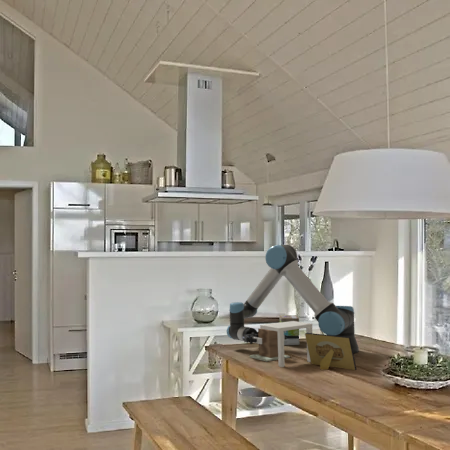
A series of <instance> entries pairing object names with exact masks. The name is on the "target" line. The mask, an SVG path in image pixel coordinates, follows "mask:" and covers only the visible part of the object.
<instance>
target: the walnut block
mask: <svg viewBox="0 0 450 450" xmlns="http://www.w3.org/2000/svg"><path fill="white" fill-rule="evenodd" d="M257 330H258V331H257V332H258V338H262V344H258V354H259V355H260V356H264V357H268V358H273V357H278V334H277V331H273V330H267V329H262V328H258V329H257Z"/></svg>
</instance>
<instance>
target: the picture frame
mask: <svg viewBox="0 0 450 450" xmlns="http://www.w3.org/2000/svg"><path fill="white" fill-rule="evenodd" d="M304 335H305V341H306V347H307V346H308V351H309V355H310V360H311V362H310V364H311V365H318V366H320V367H319V369H320V370H321V371H322V370H323V371H324V370H329V369H330V368H329V367H331V368H332V367H333V368H336V369H337V368H339V369H344V370H345V369H346V370H351V371H352V370H353V371H356V370H357V365H356V360H355V353H353V349H352V344H351V339H350V337H343V336H333V335H326V334H324V333H313V332H312V333H306V332H305V333H304Z"/></svg>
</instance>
